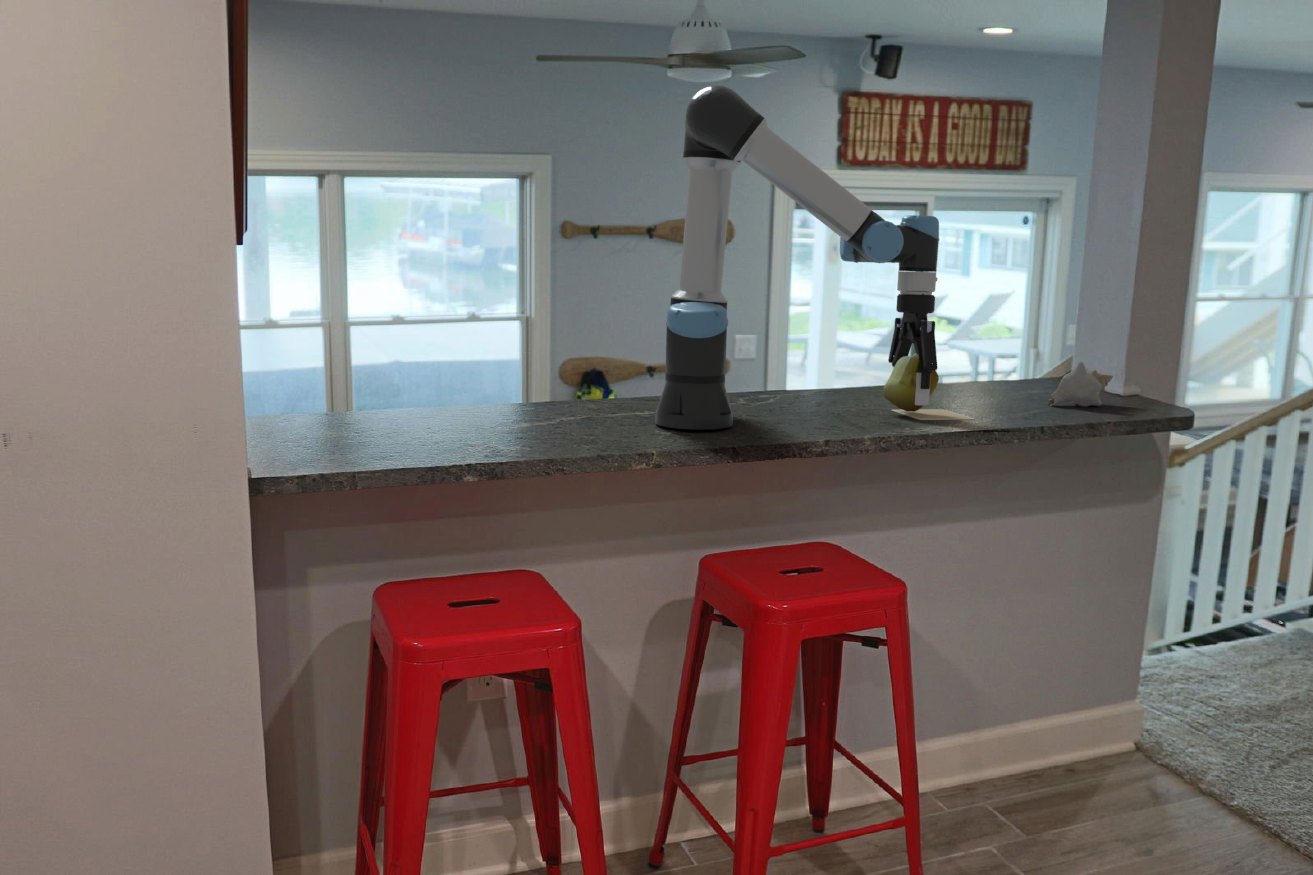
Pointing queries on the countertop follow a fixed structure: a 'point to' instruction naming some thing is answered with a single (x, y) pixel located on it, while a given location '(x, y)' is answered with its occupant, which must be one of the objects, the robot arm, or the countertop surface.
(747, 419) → the countertop surface
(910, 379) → the mug
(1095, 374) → the seashell
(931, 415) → the mat
